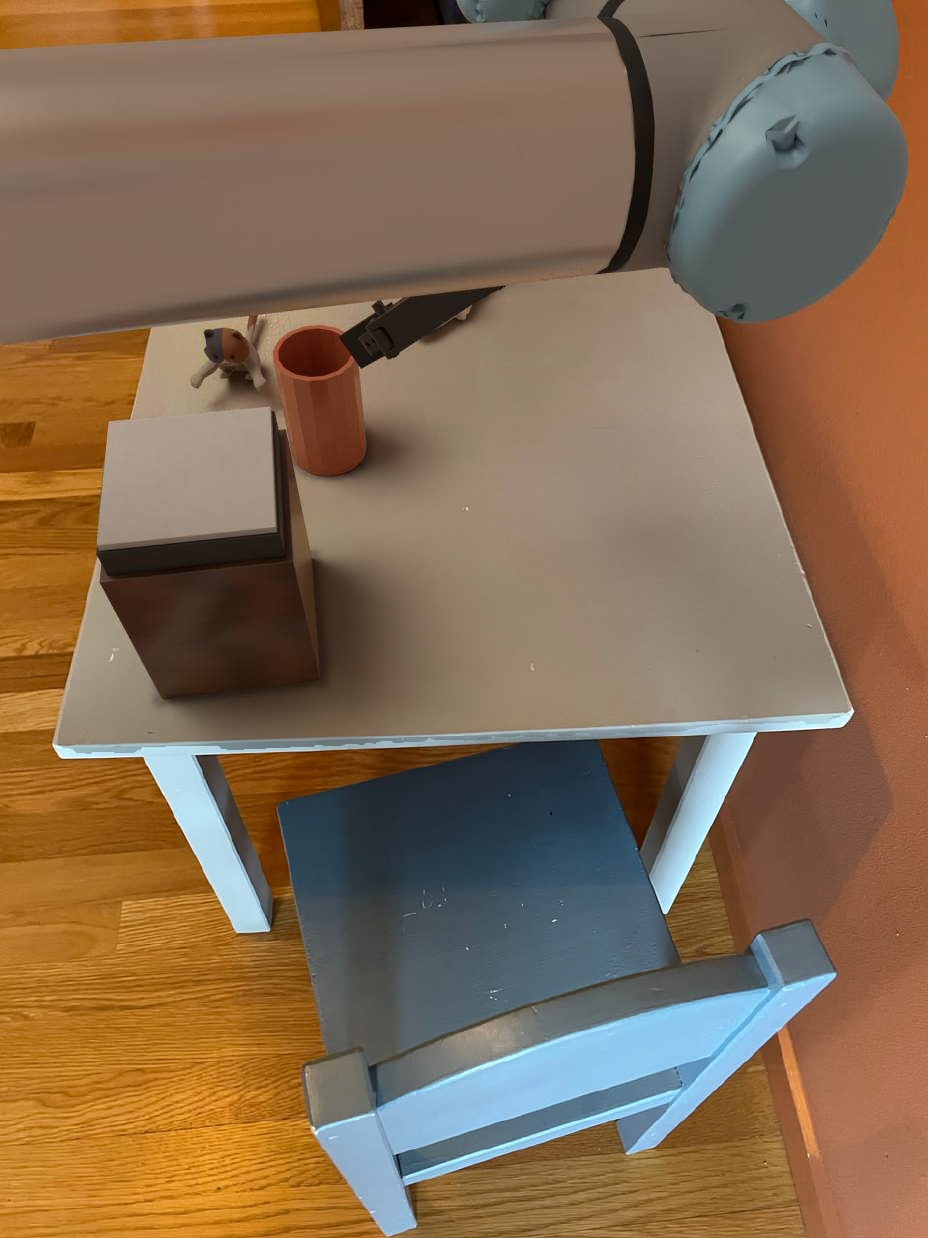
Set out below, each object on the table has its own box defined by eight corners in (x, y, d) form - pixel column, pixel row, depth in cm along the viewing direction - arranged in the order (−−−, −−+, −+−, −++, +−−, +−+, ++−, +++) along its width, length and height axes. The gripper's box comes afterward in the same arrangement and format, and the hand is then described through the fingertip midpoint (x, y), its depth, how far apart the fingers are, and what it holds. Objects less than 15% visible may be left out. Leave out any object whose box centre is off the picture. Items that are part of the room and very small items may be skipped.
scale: (102, 576, 61) (87, 548, 59) (114, 449, 68) (101, 419, 65) (285, 556, 62) (279, 528, 60) (279, 433, 69) (273, 403, 67)
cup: (293, 479, 88) (274, 383, 78) (290, 426, 92) (271, 328, 82) (370, 472, 89) (360, 376, 79) (363, 419, 93) (353, 321, 83)
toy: (196, 409, 93) (175, 343, 86) (223, 316, 101) (206, 248, 94) (271, 412, 93) (256, 346, 86) (292, 318, 101) (280, 251, 94)
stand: (161, 698, 74) (98, 582, 61) (166, 573, 81) (111, 444, 68) (320, 679, 75) (293, 561, 62) (311, 557, 83) (285, 428, 69)
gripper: (521, 352, 47) (333, 437, 64) (741, 146, 58) (531, 266, 75) (438, 221, 44) (265, 347, 61) (686, 32, 55) (481, 183, 73)
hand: (411, 303), depth 68 cm, fingers open, 13 cm apart
